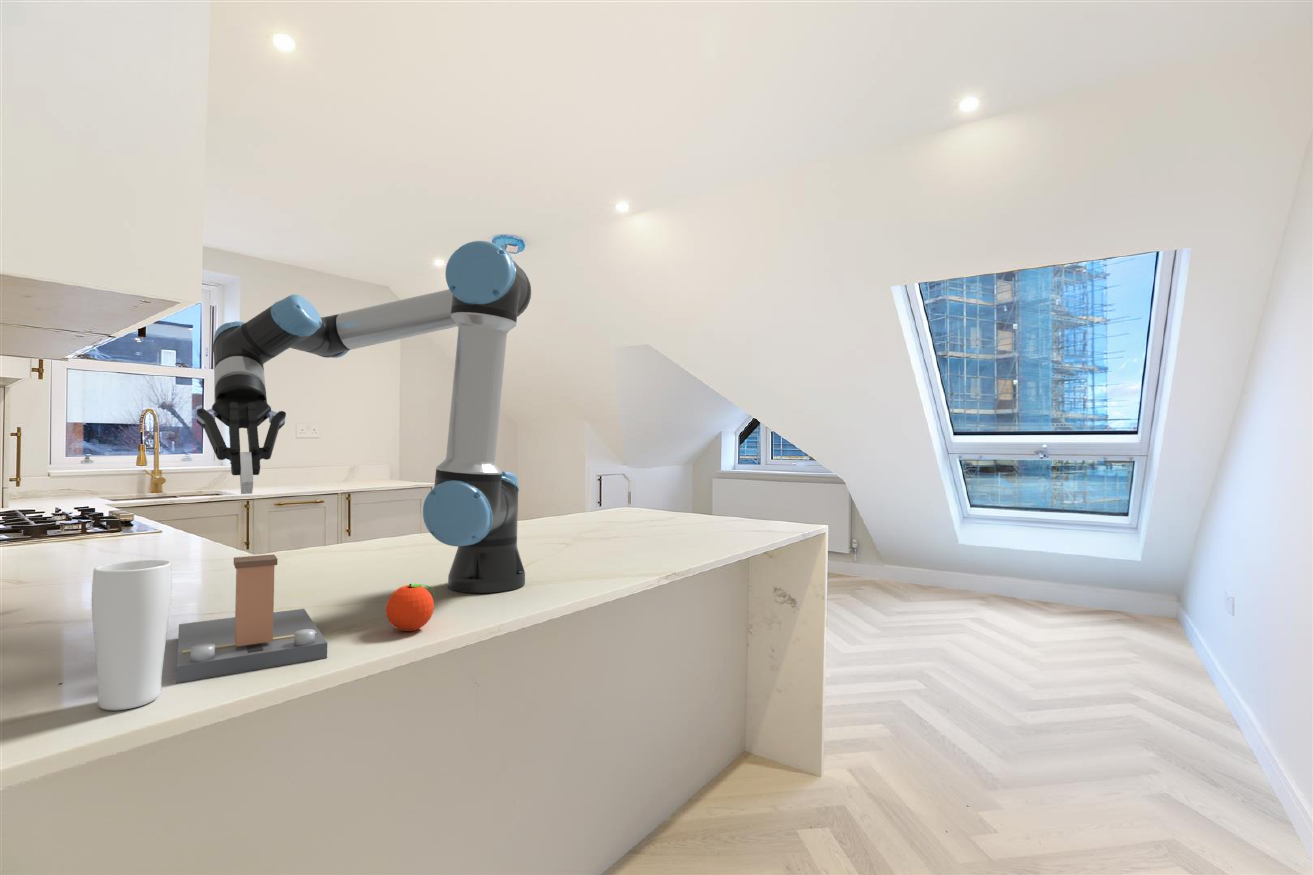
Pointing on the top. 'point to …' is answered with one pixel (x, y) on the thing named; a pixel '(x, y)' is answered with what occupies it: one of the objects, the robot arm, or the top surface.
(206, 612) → the top surface
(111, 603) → the white tumbler
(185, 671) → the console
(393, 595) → the clementine
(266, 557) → the fader tab
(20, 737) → the top surface
